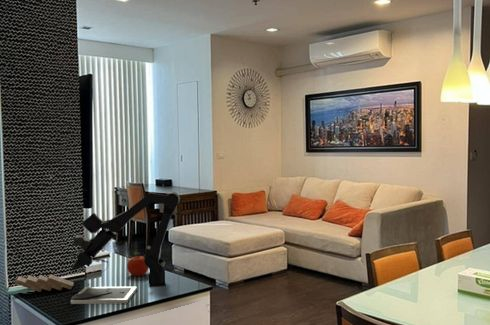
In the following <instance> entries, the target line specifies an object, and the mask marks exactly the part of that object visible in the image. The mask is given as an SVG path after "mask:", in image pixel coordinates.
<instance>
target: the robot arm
mask: <svg viewBox="0 0 490 325" xmlns="http://www.w3.org/2000/svg"><path fill="white" fill-rule="evenodd" d="M180 200H181V198H180V195H179V193H177V192H176V191H170V192H169V193H168V192H158V191H157V192H156V191H150V192H148V193H147V194H146V195H145V196H144V197H143V198H141V199H140V200H139V201H137V202H136V203H135V204H134V205H132V206H131V207H130V208H129V209H126V210H125V211H124V212H121V213H119V214H118V215H115V216H114V217H112V218H111V219H108V220H107V219H105V220H102V219H101V218H100V217H98V214H96V213H95V212H93V213H91V215H89V216H88V217H87V218H86V219H85V220H84V221H83V222H81V226H82V227H84V228H85V229H86V231H88V232H89V233H90V234H95V236H94V237H91V238H90V239H89V238H87V237H85V236H82V235H80V234H76V235H75V237H74V239H73V241H72V245H74V246H75V245H76V246H78V247H81V250H79V251H78V253H77V255H76V258H77V259H76V261H75V263H74V264H73V265H72V267H71V269H70V270H71V271H75V270H77V269H80V268H81V267H85V266H87V267H89V268H90V266H91V265H92V263H93V260H94V259H95V257H96V256H97V255H98V254H99V253H100V252H101V251H102V250H103V249H104V247H106V246H107V244H109V242H111V240H114V241H115V242H116V241H117V240H118V235H119V233H118V232H120V231H121V230H122V229H123V228H124V227H125V226H126V225H127V224H128V223H129V221H130V220H132V219H133V218H134V217H135V216H136V215H138V214H139V213H140V212H142V211H143V210H144V209H145V208H147V207H148V206H150V204H152V203H156V204H162V205H163V210H162V216H161V218H160V221H159V224H158V227H157V231H156V233H155V236H154V238H153V242H152V244H151V246H150V245H148V246H147V247H146V249H145V254H144V255H143V258H145V259H144V263H145V265H146V266H147V267H149V268H148V270H149V272H148V273H147V279H148V281H147V282H148V284H149V287H162V286H167V284H166V268H165V267H164V266H165V264H166V261H165V260H164V259H163V258H161V253H162V245H163V242H164V239H165V237H166V236H165V235H166V233H167V230H168V227H169V224H170V221H171V218H172V215H173V214H174V212H175V209H176V207H178V205H179V203H180ZM97 232H98V233H97Z"/></svg>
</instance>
